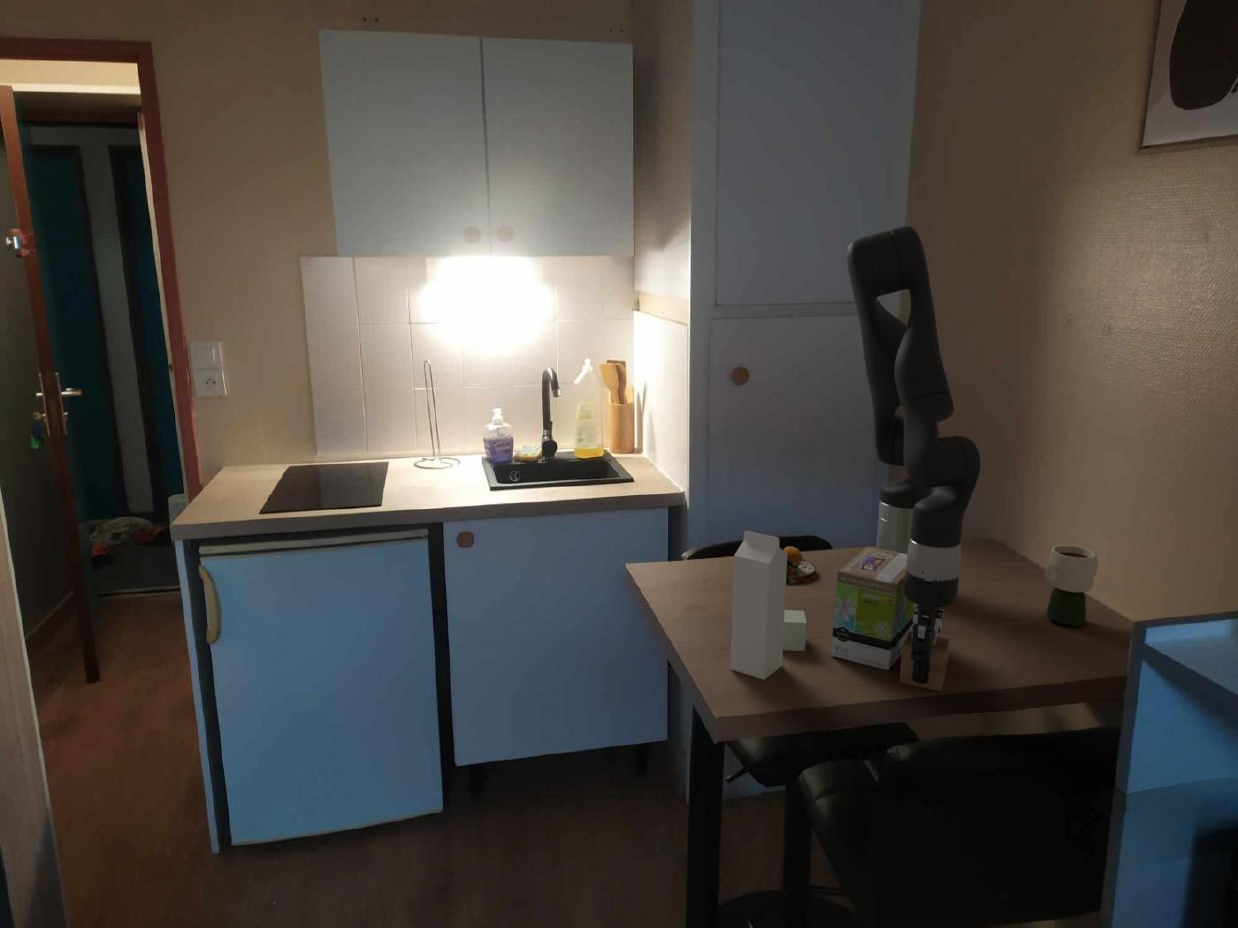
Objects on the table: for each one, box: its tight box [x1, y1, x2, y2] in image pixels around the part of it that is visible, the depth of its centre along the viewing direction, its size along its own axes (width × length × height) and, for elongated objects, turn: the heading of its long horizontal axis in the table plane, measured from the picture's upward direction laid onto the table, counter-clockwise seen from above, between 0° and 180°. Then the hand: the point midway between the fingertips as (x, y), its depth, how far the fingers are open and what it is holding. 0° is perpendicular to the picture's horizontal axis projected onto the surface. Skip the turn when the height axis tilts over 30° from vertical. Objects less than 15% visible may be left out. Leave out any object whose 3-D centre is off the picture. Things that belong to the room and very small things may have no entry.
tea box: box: [830, 546, 917, 671], centre depth 152 cm, size 15×10×15 cm
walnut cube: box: [899, 631, 950, 692], centre depth 142 cm, size 6×6×6 cm
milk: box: [730, 530, 787, 681], centre depth 144 cm, size 6×6×22 cm
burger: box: [783, 545, 817, 585], centre depth 186 cm, size 12×12×8 cm
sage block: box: [783, 609, 808, 652], centre depth 154 cm, size 5×5×5 cm
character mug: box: [1044, 544, 1099, 627], centre depth 162 cm, size 11×7×13 cm, turn 109°
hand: (923, 672), depth 143 cm, fingers closed on walnut cube, 6 cm apart
